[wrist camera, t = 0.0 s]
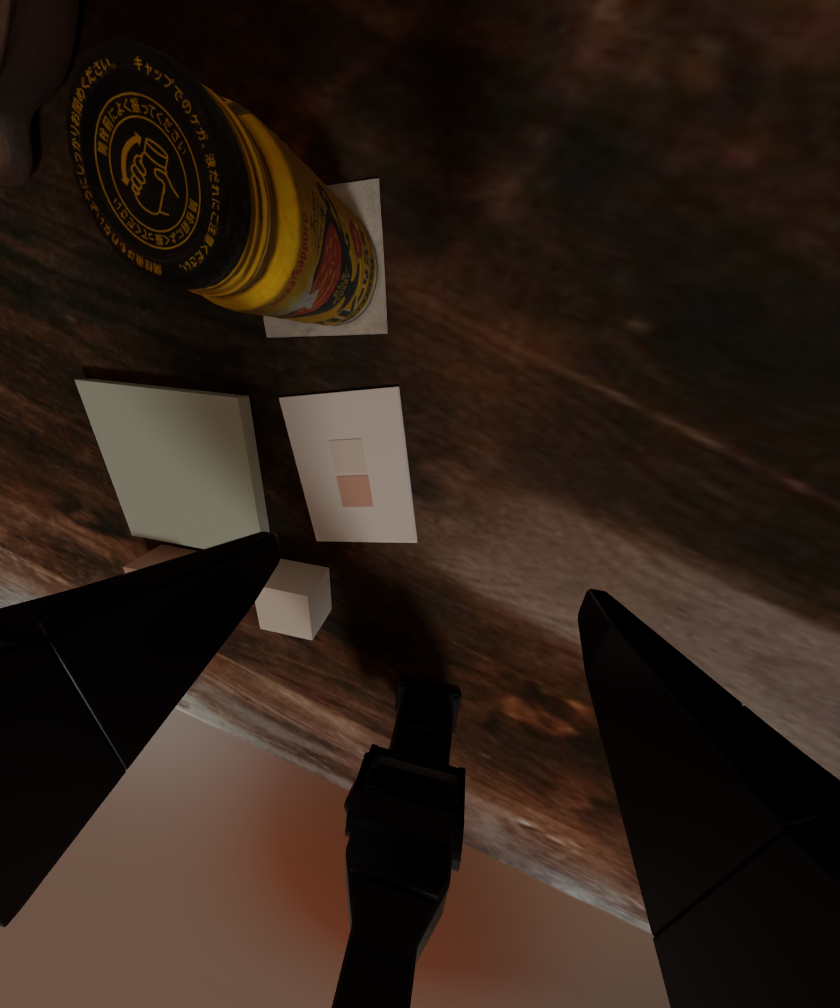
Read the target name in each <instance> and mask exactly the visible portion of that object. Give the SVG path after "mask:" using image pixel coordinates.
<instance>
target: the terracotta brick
mask: <svg viewBox="0 0 840 1008" xmlns="http://www.w3.org/2000/svg"><path fill="white" fill-rule="evenodd" d="M193 552H196V551H194V550H189V549H184V548H178V547H173V546H168V545H163V544H161V545H160V546H158V547H156V548H155V549H153V550H151V551H149V552H148V553H146V554H144V555H142V556H141V557H139V558H137V559H136V560H134V561H132V562H130V563H129V564H127V565H125V566H123V568H124V571H125V573H128V572H131V571H135V570H138V569H141V568H144V567H148V566H151V565H154V564H157V563H161V562H164V561H167V560H170V559H174V558H177V557H180V556H183V555H187V554H190V553H193Z"/></svg>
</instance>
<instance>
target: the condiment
mask: <svg viewBox="0 0 840 1008" xmlns="http://www.w3.org/2000/svg"><path fill="white" fill-rule="evenodd" d="M68 98H69V101H68V105H67V117H66V131H67V142H68V152H69V156H70V159H71V162H72V165H73V174H74V177H75V179H76V182H77V184H78V186H79V188H80V191H81V194H82V199H83V201H84V203H85V205H86V206H87V208H88V210H89V212H90V214H91V216H92V218H93V220H94V223H95V225H96V227H97V228H98V229H99V231H100V233H101V234H102V236H103V237H104V238H105V239H106V240H107V241H108V242H109V244H110V245H111V246H112V247H113V249H114V250H115V251H116V252H117V253H118V254H119V255H120V257H121V258H122V259H123V260H124V261H125V262H126V263H127V264H128V265H129V266H130V267H132V268H134V269H136V270H138V271H139V272H141V273H143V274H144V275H146V276H147V277H148V278H149V279H152V280H155V281H157V282H158V283H161V284H163V285H164V286H165V287H167V288H170V287H172V288H175V289H176V288H177V289H178V290H180V291H182V290H189V291H191V292H193V293H196V294H200V295H202V296H204V297H205V298H207V299H208V300H210V301H211V302H213V303H214V304H216V305H219V306H222V307H225V308H227V309H229V310H232V311H236V312H241V313H247V314H256V315H262V316H263V317H264V325H265V330H266V335H267V338H272V337H298V336H331V335H360V334H385V333H387V313H386V312H387V309H386V288H385V269H384V253H383V236H382V220H381V208H380V191H379V178H377V179H369V180H363V181H356V182H350V183H339V184H335V185H327V186H326V185H325V184H324V183H323V182H322V181H321V180H320V179H319V178H318V177H317V176H316V175H315V173H314V172H313V170H312V169H311V168H309V167H308V166H307V165H306V164H305V163H303V162H302V161H301V160H300V159H299V158H298V157H297V156H296V155H295V154H294V153H293V152H292V151H291V149H290V148H289V147H288V145H287V144H286V143H285V142H283V141H282V140H280V138H279V137H278V136H277V134H275V133H274V132H273V131H271V130H270V129H269V128H268V127H267V126H266V125H265V124H263V123H262V122H261V121H260V120H259V119H258V118H257V117H256V116H254V115H253V114H252V113H251V112H250V111H249V110H247V109H245V108H244V107H242V106H241V105H239V104H238V103H236V102H234V101H231V100H229V99H226V98H224V97H221V96H217V95H216V94H215V93H214V92H213V91H212V90H211V89H209V88H208V87H206V86H204V85H203V84H201V83H200V82H199V81H198V80H197V78H196V77H195V76H194V75H193V74H192V73H191V72H190V71H189V70H188V69H187V68H185V67H184V66H182V65H181V64H179V63H178V62H176V61H175V60H174V59H173V58H172V57H171V56H169V55H167V54H165V53H163V52H161V51H159V50H157V49H154V48H151V47H149V46H146V45H143V44H141V43H139V42H136V41H134V40H132V39H125V38H118V39H115V40H112V41H109V42H106V43H102V44H100V45H97V46H93V47H92V48H91V49H90V50H89V51H88V52H87V53H86V54H85V55H84V56H83V57H81V58H80V59H79V60H78V64H77V67H76V68H75V70H74V73H73V75H72V80H71V87H70V91H69V96H68Z"/></svg>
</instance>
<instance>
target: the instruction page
mask: <svg viewBox="0 0 840 1008" xmlns="http://www.w3.org/2000/svg"><path fill="white" fill-rule="evenodd" d="M279 401H280V405H281V408H282V412H283V416H284V420H285V423H286V427H287V431H288V435H289V439H290V442H291V446H292V450H293V454H294V457H295V461H296V465H297V469H298V473H299V476H300V480H301V484H302V488H303V491H304V495H305V499H306V503H307V506H308V510H309V514H310V518H311V522H312V525H313V529H314V533H315V537H316V540H317V541H333V542H395V543H417V542H418V541H417V533H416V524H415V516H414V507H413V499H412V491H411V482H410V474H409V466H408V457H407V449H406V440H405V432H404V424H403V415H402V407H401V398H400V390H399V387H388V388H377V389H367V390H356V391H345V392H334V393H324V394H313V395H302V396H292V397H281V398H279Z"/></svg>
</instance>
